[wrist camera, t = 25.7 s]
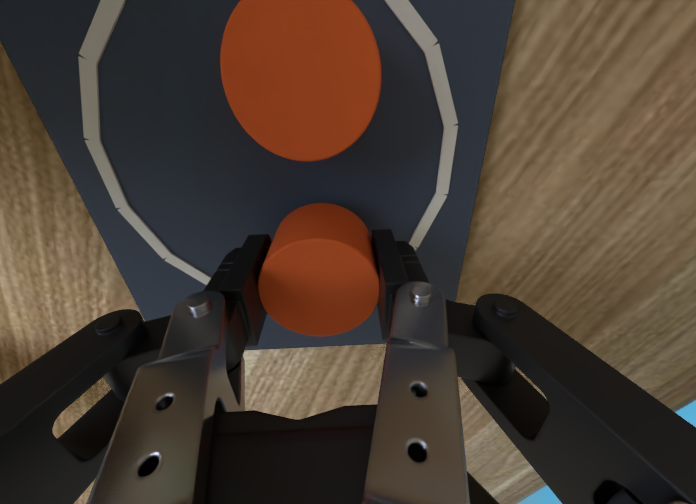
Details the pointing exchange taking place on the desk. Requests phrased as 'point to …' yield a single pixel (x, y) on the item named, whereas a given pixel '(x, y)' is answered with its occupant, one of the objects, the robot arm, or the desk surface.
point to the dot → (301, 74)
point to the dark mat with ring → (242, 150)
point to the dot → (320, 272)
